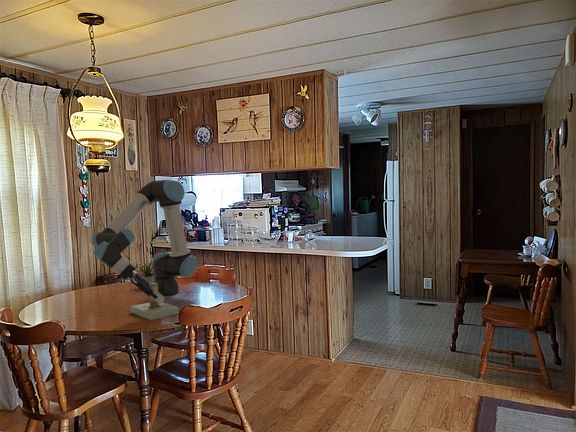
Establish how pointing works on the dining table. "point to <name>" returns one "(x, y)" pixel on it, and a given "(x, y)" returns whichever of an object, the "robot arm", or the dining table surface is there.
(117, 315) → the dining table surface
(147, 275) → the house plant
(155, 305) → the peg
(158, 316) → the seat plank
